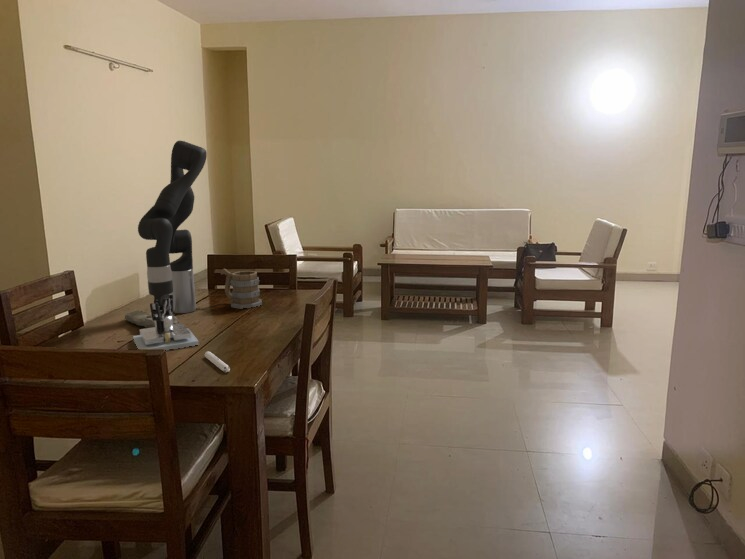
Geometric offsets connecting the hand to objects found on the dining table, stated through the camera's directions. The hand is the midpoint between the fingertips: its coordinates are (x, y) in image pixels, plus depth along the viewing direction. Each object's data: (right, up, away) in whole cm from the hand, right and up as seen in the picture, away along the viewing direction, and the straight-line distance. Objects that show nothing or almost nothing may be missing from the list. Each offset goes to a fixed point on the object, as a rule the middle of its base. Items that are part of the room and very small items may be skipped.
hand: (164, 328), depth 184 cm
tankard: (+12, +6, +54) cm, 55 cm away
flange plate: (0, -2, 0) cm, 2 cm away
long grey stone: (-13, 0, +21) cm, 24 cm away
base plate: (0, -5, +1) cm, 5 cm away
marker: (+24, -9, -21) cm, 33 cm away
